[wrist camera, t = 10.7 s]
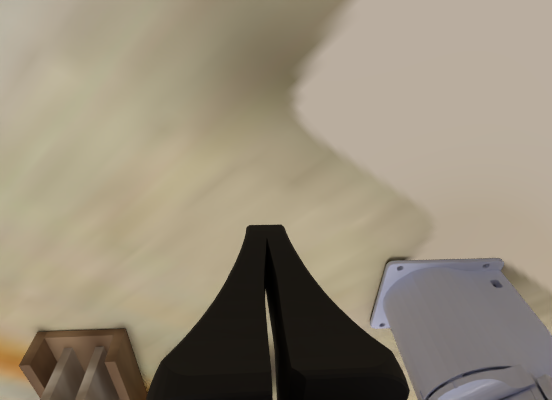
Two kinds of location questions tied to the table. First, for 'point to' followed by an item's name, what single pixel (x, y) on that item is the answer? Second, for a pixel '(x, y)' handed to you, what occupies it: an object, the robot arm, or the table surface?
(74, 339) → the dish rack
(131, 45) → the table surface
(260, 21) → the table surface
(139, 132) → the table surface
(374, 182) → the table surface
